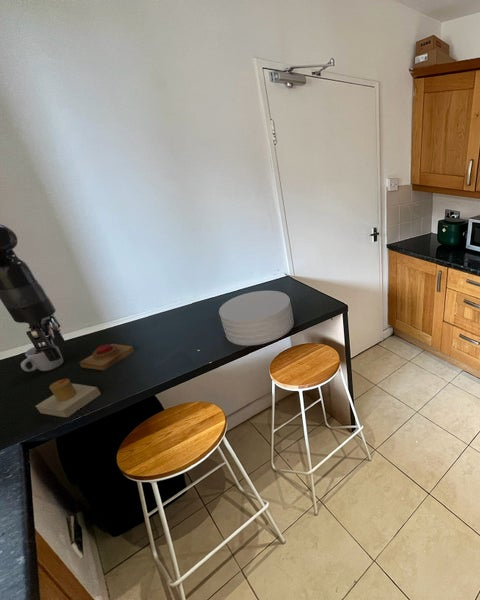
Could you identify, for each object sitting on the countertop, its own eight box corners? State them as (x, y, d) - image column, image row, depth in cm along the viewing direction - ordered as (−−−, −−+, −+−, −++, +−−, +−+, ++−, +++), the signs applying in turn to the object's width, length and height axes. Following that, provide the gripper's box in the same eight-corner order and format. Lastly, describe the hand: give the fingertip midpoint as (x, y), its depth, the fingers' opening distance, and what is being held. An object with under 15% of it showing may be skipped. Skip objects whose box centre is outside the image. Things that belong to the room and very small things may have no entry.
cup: (39, 380, 108) (26, 361, 104) (20, 377, 109) (7, 359, 106) (73, 360, 118) (62, 343, 114) (55, 358, 119) (44, 341, 115)
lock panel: (67, 417, 93) (61, 410, 92) (40, 413, 95) (35, 405, 94) (101, 394, 102) (96, 386, 101) (76, 390, 104) (71, 382, 102)
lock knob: (65, 402, 95) (56, 388, 92) (53, 400, 96) (44, 387, 93) (80, 392, 99) (72, 379, 96) (69, 390, 99) (61, 377, 97)
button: (104, 354, 115) (102, 351, 114) (95, 353, 116) (93, 349, 115) (114, 348, 119) (113, 344, 118) (106, 347, 119) (104, 343, 118)
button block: (104, 370, 113) (99, 361, 111) (81, 367, 114) (76, 358, 112) (134, 350, 123) (131, 342, 121) (113, 348, 125) (109, 339, 123)
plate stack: (306, 323, 141) (303, 301, 136) (248, 354, 121) (241, 329, 116) (271, 306, 156) (266, 285, 151) (213, 330, 136) (206, 307, 131)
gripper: (12, 294, 82) (44, 345, 90) (-4, 315, 72) (33, 370, 80) (52, 287, 86) (79, 336, 94) (41, 306, 76) (73, 359, 84)
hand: (58, 352), depth 87 cm, fingers open, 8 cm apart
